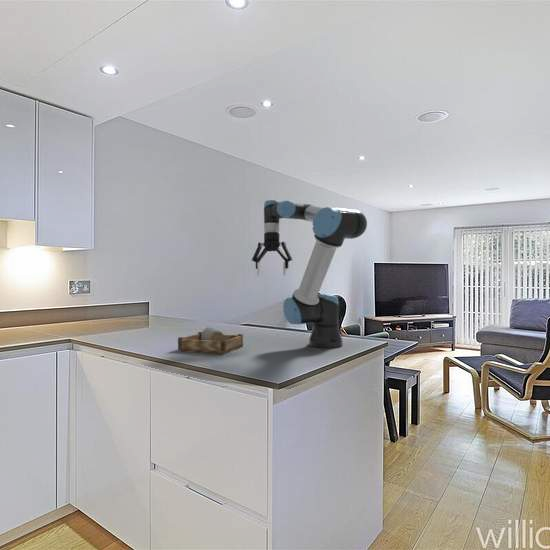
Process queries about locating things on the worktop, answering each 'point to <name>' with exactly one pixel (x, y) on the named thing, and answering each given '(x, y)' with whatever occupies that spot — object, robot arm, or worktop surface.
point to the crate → (210, 344)
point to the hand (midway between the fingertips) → (271, 275)
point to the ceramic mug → (212, 334)
